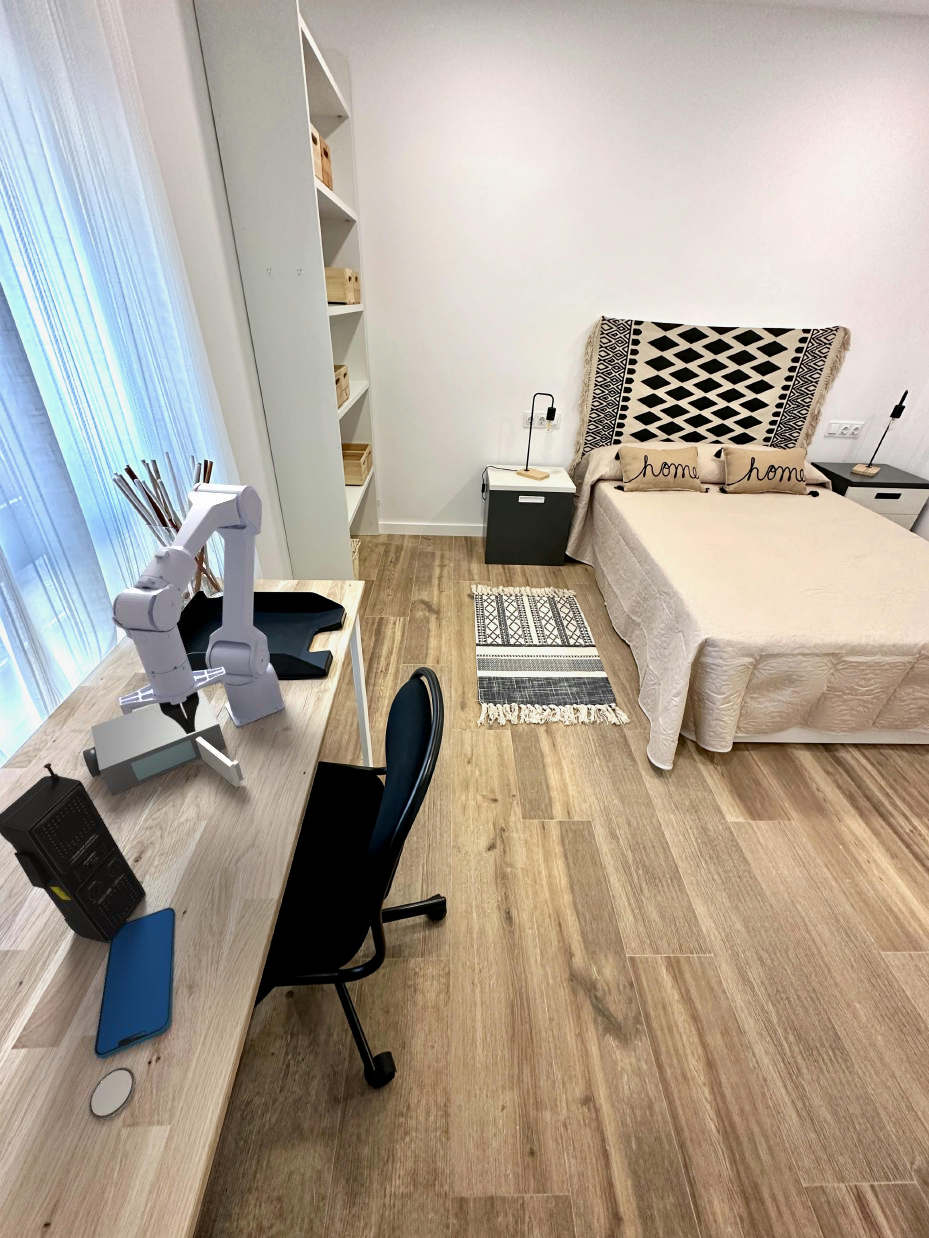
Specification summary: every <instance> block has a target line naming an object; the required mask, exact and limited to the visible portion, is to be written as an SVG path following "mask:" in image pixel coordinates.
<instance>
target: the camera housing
mask: <svg viewBox="0 0 929 1238" xmlns="http://www.w3.org/2000/svg"><path fill="white" fill-rule="evenodd" d="M197 692H198V696H199V705H198V707H197V710H196V715H195V730H196V731H195V732H192V733H189V734H186V733H185V731H184V730H183V728H182V727H181V726H180V725H179V724H178V723H177V722H176V721H174V720H173V719H171V718H170V717H168V716H166V715H164V714H163V713H162V711H161V708H160V705H159V703H156V704H151V705H148V706H145V707H144V708H143V707H142V708H140V709H138V710H137V709H136V710H135V711H132V713H130V714H126V715H124V714H123V715H121V716H118V717H115V718H112V719H108V720H106V721H104V722H100V723H98V724H95V725H92V726H90V728H91V732H92V733H91V734H92V738H93V742H94V743H93V744H94V746H91V747H90V748H87V749H85V750H83V751H82V754H83V755H82V756H83V758H84V762H85V766H86V768H87V769H88V773H89V775H90V776H91V777H92V778H96V777H98V776H101V775H102V778H103V780H104V782H105V784H106V786H107V788H108V790H109V792H110V794H111V796H115V795H117V794H120V793H122V792H124V791H127V790H129V789H132V788H134V787H136V786H139V785H141V784H144V783H146V782H148V781H152V780H153V779H156V778H159V777H160V776H163V775H165V774H169V773H171V772H172V771H175V770H177V769H179V768H182V767H184V766H187V765H190V764H192V763H194V762H197V761H199V760H201V759H202V756H201V753H200V751H199V748H198V745H197V742H196V739H197V738H198V737H201V738H202V739H204V740H205V741H206V742H207V743H209V744H210V745H211V746H213V747H214V748H215V749H216V750H218V751H219V752H220V751H222V750H225V749H227V745H226V742H225V739H224V735H223V731H222V727H221V726H220V722H219V721H218V718H217V717H216V714H215V712H214V711H213V708H212V706H211V704H210V702H209V700H208V698H207V696H206V694H205V692H204V690H203V688H202V689H200V690H198V691H197ZM180 705H181V708H182V710H183V712H184V714H185V711H184V709H183V706H182V703H180ZM185 716H186V714H185ZM186 718H187V717H186Z"/></svg>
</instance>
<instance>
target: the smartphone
mask: <svg viewBox="0 0 929 1238" xmlns="http://www.w3.org/2000/svg"><path fill="white" fill-rule="evenodd" d="M175 930H176V911H175V909H174V908H173V907H165V908H162V909H159V910H157V911H155V912H151V913H149V914H146V915H142V916H139V917H137V918H134V919H132V920H129V921H128V920H127V921H126V922H125V923H124V925H123V926H122V927H121V929H120V930H119V931H118V932H117V934H116V935H115V936H114V938H113V939H111V940H110V942H109V947H108V955H107V960H106V968H105V975H104V981H103V988H102V994H101V1002H100V1008H99V1015H98V1021H97V1026H96V1027H97V1029H96V1034H95V1040H94V1041H95V1042H94V1048H93V1052H94V1054H95V1056H96V1057H97V1058H98V1059H101V1060H104V1059H106V1058H110V1057H111V1056H113V1055H116V1054H119V1053H121V1052H123V1051H125V1050H127V1049H129V1048H132V1047H134V1046H136V1045H139V1044H142V1043H143V1042H146V1041H149V1040H150V1039H153V1038H155V1037H158V1036H160V1035H162V1034H163V1033H165V1032H166V1031H167V1030H168V1029H169V1027H170V1026H171V1023H172V1010H173V1009H172V1008H173V1007H172V1006H173V989H174V988H173V987H174V986H173V984H174V960H175V959H174V957H175V955H174V954H175V937H176V936H175V933H176V931H175Z"/></svg>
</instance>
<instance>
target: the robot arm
mask: <svg viewBox="0 0 929 1238" xmlns="http://www.w3.org/2000/svg"><path fill="white" fill-rule="evenodd" d="M187 506H188V513H187V515H186V517H185V518H184V520H183V523H182V525H181V526H180V528H179V531H178V532H177V534H176V536H175V539H173V542H172V544H171V546H163V547H161V548H159V549H157V550H156V551H155V553H154V555H153V557H152V559H151V560H150V561H149V563H148V565H147V566H146V568H145V569H144V570H143V571H142V573H141V575H140V576H139V577H138V579H137V580H136V582H135V583H134V585H133V587H127V588H125V589H124V590H123V591H120V592H119V593H118V594H117V595H116V597H115V598H114V600H113V603H112V614H113V616H112V617H111V619H112V622H113V623H114V624H115V625H116V626H117V627H118V628H120V629H121V630H123V631H124V632H125V634H126V636H127V638H129V639H131V640H132V641H133V644H134V646H135V649H136V651H137V654H138V657H139V659H140V661H141V664H142V667H143V669H144V672H145V674H146V677H147V679H148V681H149V684H148V685H145V686H143V687H142V688H139V689H138V690H136V691H133V692H131V693H130V694H126V695H124V696H121V697H119V698H118V702H119V707H120V709H121V711H122V714H123V715H126V714H130V713H132V712H133V711H134V710H137V709H139V708H140V709H141V708H143V707H148V706H151V705H155V704H157V703H159V705H160V708H161V711H162V713H163V714H164V715H166V716H168V717H170V718H171V719H173V720H174V721H176V722H177V723H178V724H179V725H180V726H181V727H182V728H183V730H184V731H185V733H186V734H189V733H192V732H195V731H196V730H195V715H196V710H197V707H198V705H199V696H198V692H197V691H198V690H200V689H202V690H203V689H204V688H207V687H210V686H214V685H217V684H221V685H223V687H224V690H225V694H226V697H227V701H228V702H226V703H225V704H224V706H225V708H226V710H227V712H228V714H229V716H230V718H231V719H232V722H233V724H234V725H235V726H236V727H237V728H238V727H241V726H244V725H246V724H249V723H252V722H255V721H257V720H259V719H261V718H264V717H266V716H269V715H272V714H274V713H276V712H279V711H281V710H284V709H285V707H286V706H285V704H284V701H283V697H282V692H281V687H280V682H279V678H278V675H277V674H276V673H277V672H276V671H275V669H274V667H273V665H272V663H270V651H269V648H268V637H267V635H265V634H264V633H263V632H262V631H261V630H259V629H258V628H257V627H255V626H254V595H255V594H254V592H255V591H254V590H255V562H256V561H255V557H256V536H258V535H260V534H261V531H262V513H263V512H262V510H263V503H262V500H261V498H260V496H259V494H258V492H257V490H256V489H255V488H254V486H252V485H249V484H248V485H232V484H216V483H215V484H214V483H206V482H198V483H196V484H194V486H193V487H192V489H191V491H190V493H189V494H188V496H187ZM215 532H216V533H218V534H219V535H220V536H221V538H222V539H223V540H224V545H223V547H224V548H223V554H224V555H223V587H222V589H223V590H222V591H223V594H222V626H221V627H219V628H218V629H216V630H215V631H214V632H212V633H211V634H210V635H209V643H208V647H207V650H206V653H205V664H206V666H207V667H206V668H207V669H204V670H203V669H202V670H194V671H193V670H192V667H191V664H190V661H189V658H188V655H187V652H186V649H185V647H184V643H183V639H182V637H181V634H180V631H179V628H178V627H179V626H178V625H177V623H178V622H180V619H181V613H182V604H183V603H184V596H183V594H184V593H185V590H186V589H187V587H188V585H189V584H190V582H191V580H192V579H193V577H194V576H195V574H196V572H197V571H198V565H197V561H196V559H195V558H196V557H197V555H198V554H199V552H200V551H201V550H202V548H203V547H204V546H205V544H207V542H208V540H209V539H210V538H211V536H212V535H213V534H214V533H215ZM180 703H182V706H183V709H184V711H185V714H186V716H185V714H184V712H183V710H182V708H181V705H180ZM186 717H187V718H186Z"/></svg>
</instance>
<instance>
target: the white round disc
mask: <svg viewBox="0 0 929 1238" xmlns="http://www.w3.org/2000/svg"><path fill="white" fill-rule="evenodd" d="M127 1070H128V1071H130V1072H132V1070H131V1069H129V1068H127V1067H119V1068H118V1067H117V1068H115V1069H113V1070H111V1071H109V1072H108V1073H107V1074H105V1075H103V1077H102V1078H101V1079H100V1080H99V1081H98V1083H97V1084H96V1085H95V1087H94V1088H93V1090H92V1092H91V1094H90V1098H89V1101H88V1102H89V1103H88V1109H89V1113H90V1115H91V1116H93V1114H92V1111H93V1113H94V1114H95V1115H98V1116H107V1115H109V1114H112V1113H113V1112H115V1111H116V1110H117V1109H119V1108H120V1107H121V1106H122V1104H123V1103H124V1102H125V1101H126V1099H127V1098H128V1096H129V1098H128V1099H127V1101H126V1102H125V1103H124V1105H123V1106H122V1107H121V1108H120V1109H119V1110H118V1111H116V1112H115V1113H114V1114H112V1115H110V1116H108V1117H106V1118H96V1117H95V1116H93V1118H94V1119H95V1120H98V1121H107V1120H109V1119H110V1120H111V1118H114V1117H115V1116H116V1115H118V1114H119V1113H120V1112H122V1110H124V1109H125V1107H126V1106H127V1104H128V1103H129V1102H130V1101H131V1099H132V1097H133V1095H134V1093H135V1089H136V1084H137V1083H136V1079H137V1078H136V1076H135V1074H133V1077H134V1084H133V1089H132V1092H131V1093H130V1091H131V1088H132V1083H133V1082H132V1080H133V1079H132V1076H131V1074H130V1073H129V1072H128V1071H127ZM112 1072H113V1073H112ZM101 1081H102V1082H101ZM129 1094H130V1095H129ZM91 1109H92V1111H91Z"/></svg>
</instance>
